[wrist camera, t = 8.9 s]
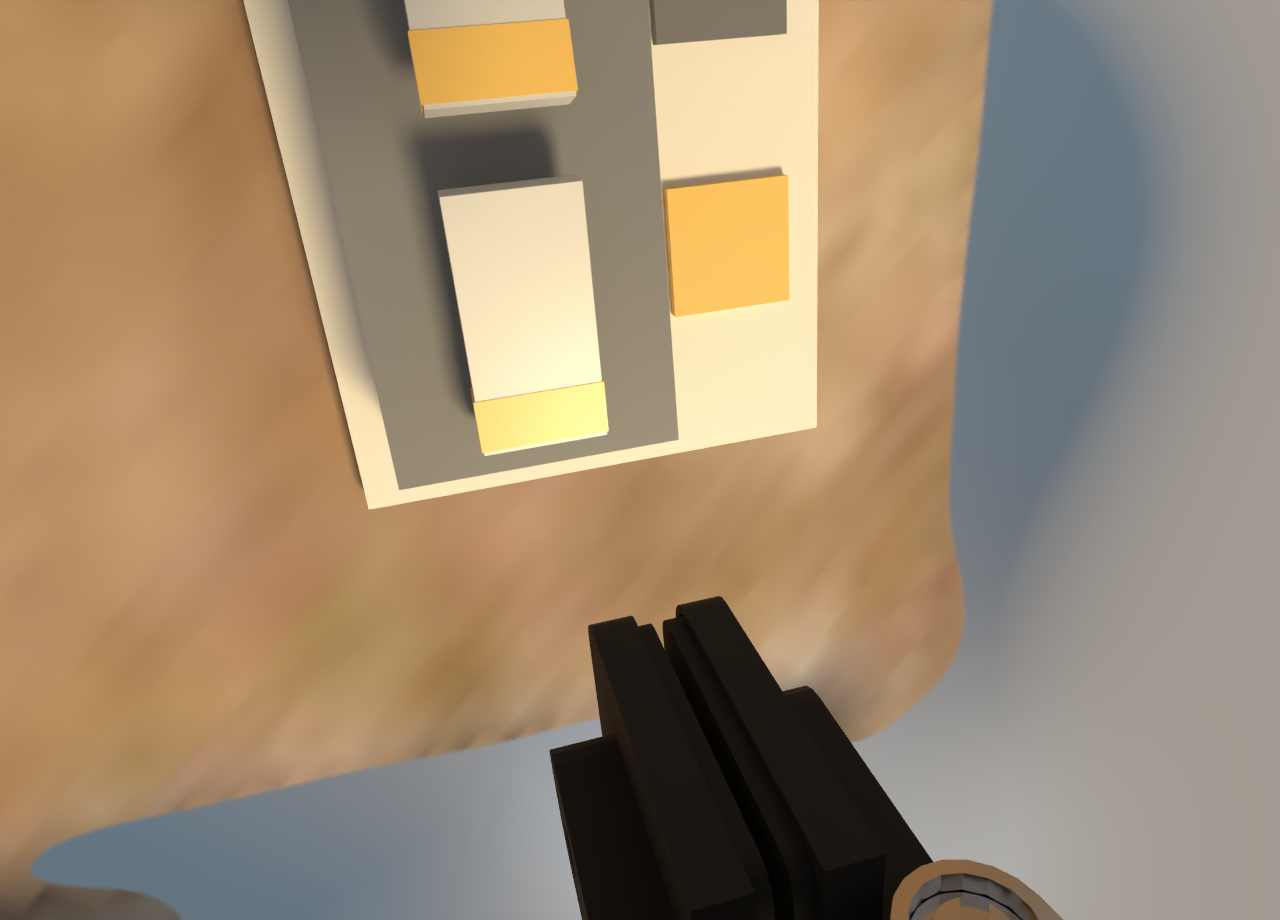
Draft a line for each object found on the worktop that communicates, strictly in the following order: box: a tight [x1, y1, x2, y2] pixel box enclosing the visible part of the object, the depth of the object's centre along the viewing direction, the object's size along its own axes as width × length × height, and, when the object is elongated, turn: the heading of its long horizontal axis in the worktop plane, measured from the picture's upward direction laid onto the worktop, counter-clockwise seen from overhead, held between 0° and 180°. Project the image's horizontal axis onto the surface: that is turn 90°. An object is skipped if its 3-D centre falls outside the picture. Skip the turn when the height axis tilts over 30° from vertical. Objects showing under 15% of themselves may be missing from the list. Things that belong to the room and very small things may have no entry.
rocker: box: [437, 175, 609, 456], centre depth 21 cm, size 6×3×1 cm, turn 5°
